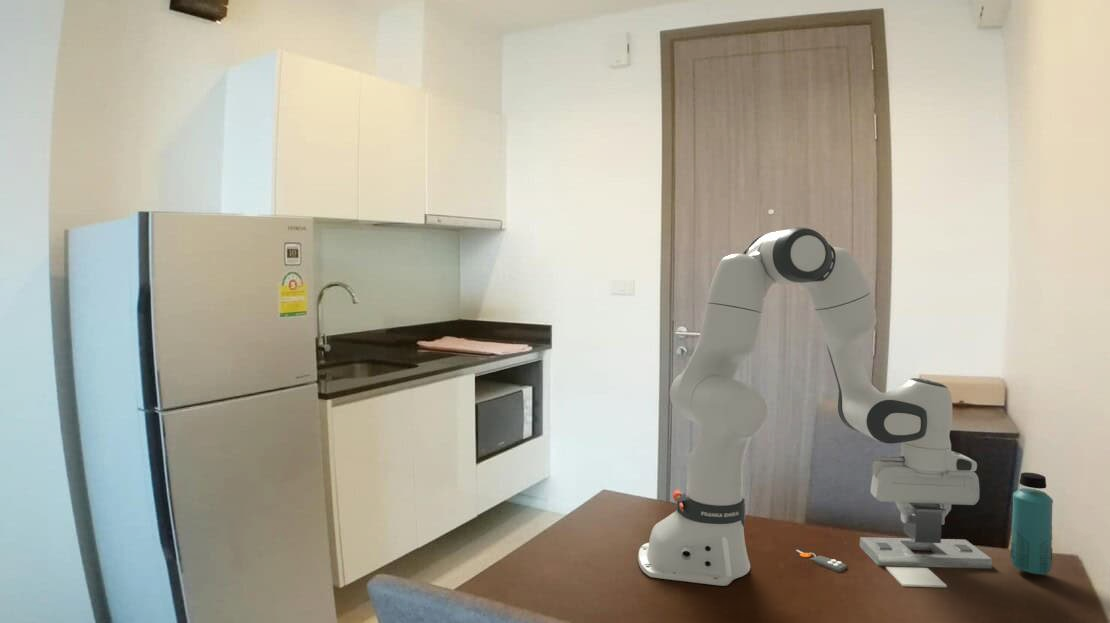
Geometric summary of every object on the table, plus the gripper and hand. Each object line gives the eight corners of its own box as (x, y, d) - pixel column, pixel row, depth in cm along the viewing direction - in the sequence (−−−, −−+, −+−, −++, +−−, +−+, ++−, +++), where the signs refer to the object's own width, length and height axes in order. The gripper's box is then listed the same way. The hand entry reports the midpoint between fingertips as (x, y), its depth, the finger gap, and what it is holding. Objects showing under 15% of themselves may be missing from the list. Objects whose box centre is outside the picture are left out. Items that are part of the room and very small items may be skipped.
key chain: (848, 569, 126) (848, 562, 126) (839, 575, 123) (839, 568, 123) (789, 547, 136) (789, 541, 136) (780, 552, 134) (780, 545, 133)
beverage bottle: (1058, 583, 118) (1063, 480, 117) (1019, 580, 120) (1023, 478, 118) (1039, 567, 125) (1043, 470, 123) (1002, 565, 126) (1006, 468, 125)
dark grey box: (914, 542, 127) (916, 509, 126) (901, 531, 132) (903, 499, 132) (942, 543, 126) (943, 510, 126) (928, 532, 132) (929, 500, 131)
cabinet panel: (877, 565, 126) (878, 554, 126) (859, 546, 135) (859, 535, 135) (991, 568, 125) (991, 557, 124) (965, 548, 134) (965, 538, 133)
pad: (902, 586, 118) (902, 584, 118) (885, 568, 125) (885, 566, 125) (946, 587, 117) (946, 585, 117) (927, 569, 124) (927, 567, 124)
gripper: (879, 460, 126) (877, 526, 127) (985, 463, 124) (982, 530, 125) (866, 451, 132) (864, 514, 133) (967, 454, 131) (964, 518, 132)
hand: (922, 522), depth 129 cm, fingers closed on dark grey box, 5 cm apart
